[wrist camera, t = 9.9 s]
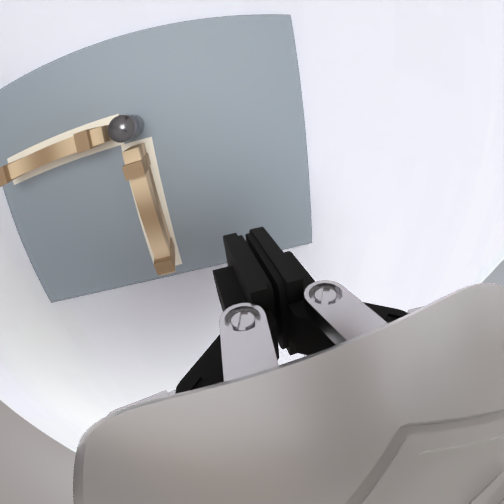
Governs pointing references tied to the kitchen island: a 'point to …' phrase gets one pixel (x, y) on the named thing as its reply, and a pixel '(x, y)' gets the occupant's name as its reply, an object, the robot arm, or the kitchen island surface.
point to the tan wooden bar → (149, 207)
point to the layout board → (160, 150)
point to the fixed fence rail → (54, 152)
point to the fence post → (125, 127)
